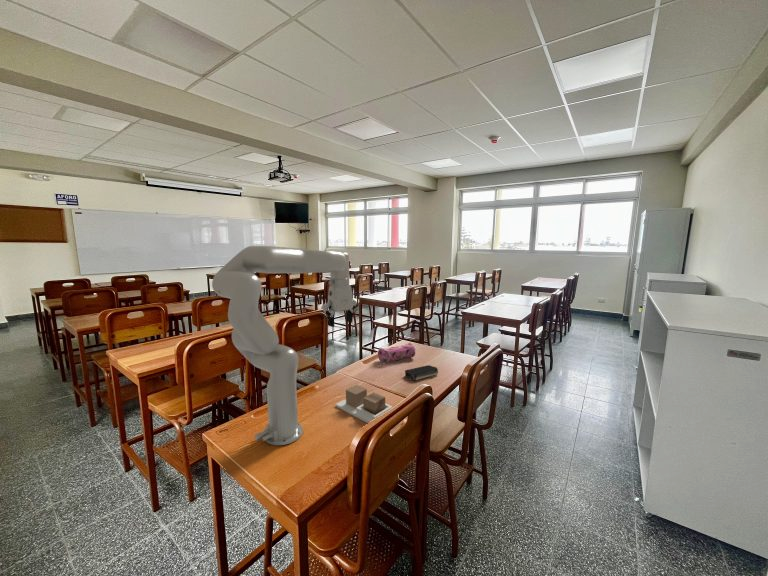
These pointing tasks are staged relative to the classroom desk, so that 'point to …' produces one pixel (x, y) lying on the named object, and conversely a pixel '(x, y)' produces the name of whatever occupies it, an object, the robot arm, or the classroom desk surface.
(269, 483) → the classroom desk surface
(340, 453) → the classroom desk surface
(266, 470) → the classroom desk surface
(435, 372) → the black sponge
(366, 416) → the assembly board
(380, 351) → the pencil case
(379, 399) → the walnut block
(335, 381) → the classroom desk surface
